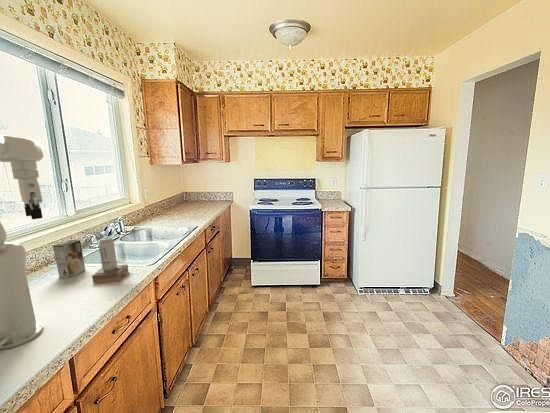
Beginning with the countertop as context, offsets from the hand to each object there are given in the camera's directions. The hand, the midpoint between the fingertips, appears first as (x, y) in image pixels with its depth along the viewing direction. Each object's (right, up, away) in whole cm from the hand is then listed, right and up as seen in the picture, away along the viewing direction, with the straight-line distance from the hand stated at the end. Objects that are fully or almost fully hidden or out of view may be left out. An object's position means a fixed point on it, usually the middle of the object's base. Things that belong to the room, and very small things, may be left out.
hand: (34, 217), depth 111 cm
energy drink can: (+19, -25, +19) cm, 37 cm away
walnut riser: (+19, -30, +20) cm, 41 cm away
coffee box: (-3, -29, +26) cm, 39 cm away
